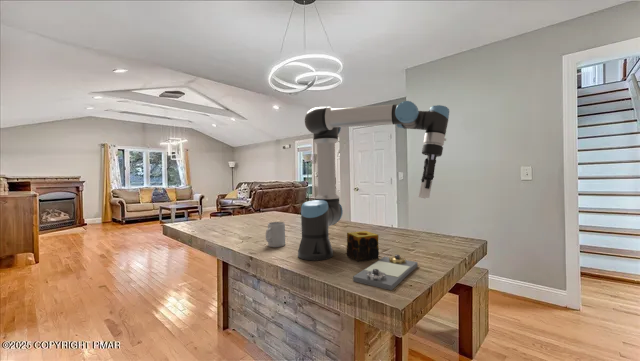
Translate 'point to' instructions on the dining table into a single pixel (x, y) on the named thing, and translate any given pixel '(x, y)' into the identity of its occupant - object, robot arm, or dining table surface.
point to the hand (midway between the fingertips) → (423, 197)
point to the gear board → (386, 272)
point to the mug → (275, 234)
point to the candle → (362, 245)
